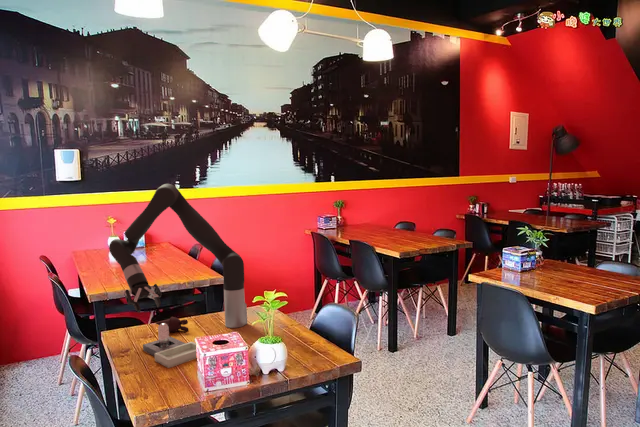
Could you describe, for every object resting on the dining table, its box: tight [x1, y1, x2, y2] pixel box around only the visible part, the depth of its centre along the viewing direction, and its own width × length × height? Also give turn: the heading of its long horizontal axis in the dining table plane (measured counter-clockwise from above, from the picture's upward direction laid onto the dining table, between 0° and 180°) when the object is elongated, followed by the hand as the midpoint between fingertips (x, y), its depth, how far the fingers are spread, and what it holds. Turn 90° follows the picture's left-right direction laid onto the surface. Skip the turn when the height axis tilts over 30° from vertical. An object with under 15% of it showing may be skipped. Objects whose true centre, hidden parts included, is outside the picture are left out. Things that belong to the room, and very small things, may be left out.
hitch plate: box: [142, 336, 187, 358], centre depth 190 cm, size 12×12×2 cm
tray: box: [154, 341, 197, 369], centre depth 182 cm, size 16×10×3 cm, turn 136°
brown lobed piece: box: [155, 316, 189, 333], centre depth 212 cm, size 7×7×15 cm
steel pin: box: [157, 323, 170, 348], centre depth 190 cm, size 4×4×11 cm
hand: (149, 308), depth 196 cm, fingers open, 8 cm apart
